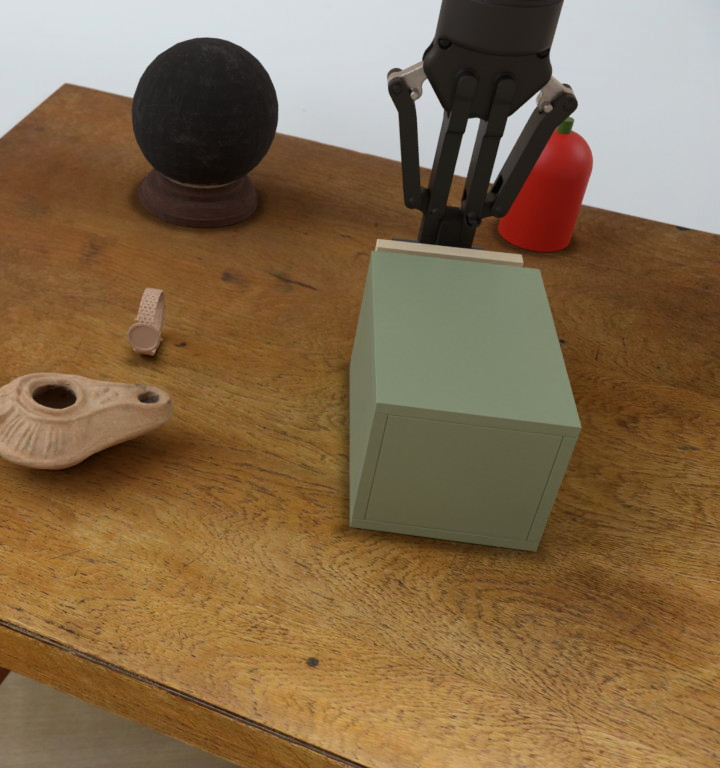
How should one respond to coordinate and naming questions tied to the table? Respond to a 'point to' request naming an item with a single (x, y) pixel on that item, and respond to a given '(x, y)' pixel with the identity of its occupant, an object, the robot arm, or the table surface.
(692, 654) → the table surface
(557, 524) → the table surface
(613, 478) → the table surface
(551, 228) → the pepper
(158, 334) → the wristwatch
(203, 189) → the black ball on stand
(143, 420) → the pottery oil lamp
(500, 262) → the drawer
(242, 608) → the table surface
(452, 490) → the cabinet
